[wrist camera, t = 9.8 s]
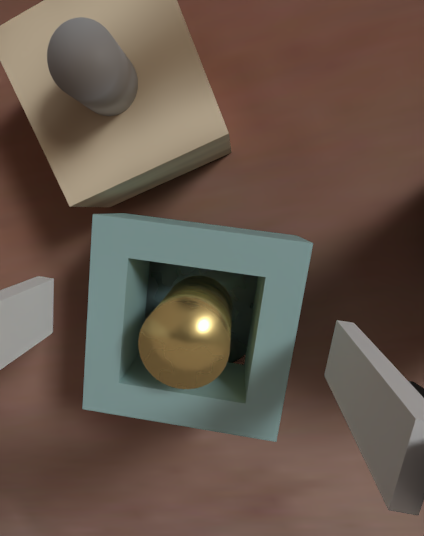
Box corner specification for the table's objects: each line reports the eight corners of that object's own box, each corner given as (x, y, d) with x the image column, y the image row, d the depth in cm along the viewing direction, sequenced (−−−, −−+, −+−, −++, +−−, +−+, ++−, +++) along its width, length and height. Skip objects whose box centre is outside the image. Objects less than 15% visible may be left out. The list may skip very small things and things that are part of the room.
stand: (50, 77, 19) (-62, -1, 12) (175, 10, 18) (133, -121, 11) (109, 207, 21) (39, 206, 13) (231, 152, 19) (226, 118, 12)
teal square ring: (123, 212, 19) (92, 214, 15) (297, 235, 18) (313, 243, 14) (112, 370, 20) (82, 409, 17) (268, 395, 20) (276, 441, 16)
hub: (124, 265, 21) (62, 296, 14) (236, 219, 20) (234, 224, 13) (172, 371, 22) (139, 450, 15) (281, 332, 21) (304, 397, 14)
